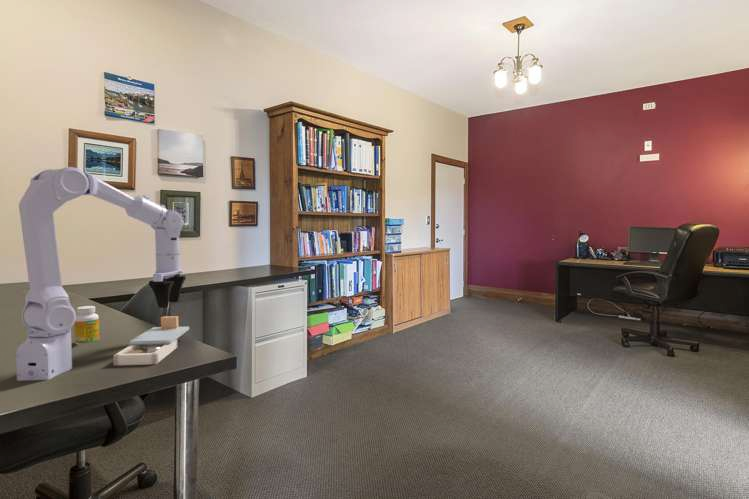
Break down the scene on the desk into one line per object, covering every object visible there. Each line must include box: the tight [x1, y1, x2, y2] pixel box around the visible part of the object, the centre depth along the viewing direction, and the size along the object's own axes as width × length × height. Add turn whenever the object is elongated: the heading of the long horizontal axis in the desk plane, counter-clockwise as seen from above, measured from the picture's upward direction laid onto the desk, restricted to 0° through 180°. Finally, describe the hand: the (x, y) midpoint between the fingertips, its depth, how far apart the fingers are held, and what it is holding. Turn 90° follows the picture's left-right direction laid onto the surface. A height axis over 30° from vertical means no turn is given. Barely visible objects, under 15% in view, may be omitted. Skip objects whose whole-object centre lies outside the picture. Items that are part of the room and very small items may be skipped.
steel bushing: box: [147, 346, 161, 353], centre depth 97 cm, size 3×3×2 cm
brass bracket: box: [125, 350, 143, 354], centre depth 93 cm, size 3×3×2 cm
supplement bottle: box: [74, 305, 100, 346], centre depth 110 cm, size 5×5×10 cm
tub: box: [112, 337, 179, 366], centre depth 97 cm, size 13×9×3 cm
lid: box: [128, 315, 190, 345], centre depth 105 cm, size 13×9×4 cm
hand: (168, 304), depth 110 cm, fingers open, 7 cm apart
